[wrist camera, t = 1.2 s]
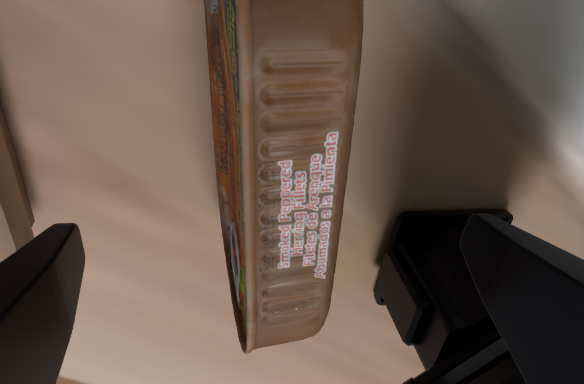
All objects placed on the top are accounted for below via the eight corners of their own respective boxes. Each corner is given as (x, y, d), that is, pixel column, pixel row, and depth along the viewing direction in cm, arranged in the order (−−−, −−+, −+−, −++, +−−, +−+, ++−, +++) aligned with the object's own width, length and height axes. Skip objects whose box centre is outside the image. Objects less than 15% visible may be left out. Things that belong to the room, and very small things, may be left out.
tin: (193, -155, 12) (183, -241, 5) (299, -146, 13) (417, -216, 6) (220, 242, 20) (230, 410, 14) (284, 236, 21) (324, 396, 14)
